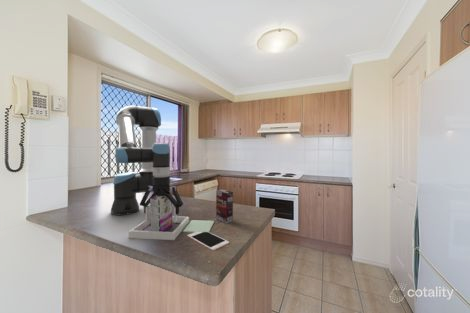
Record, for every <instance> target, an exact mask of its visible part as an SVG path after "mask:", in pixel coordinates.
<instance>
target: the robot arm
mask: <svg viewBox="0 0 470 313" xmlns="http://www.w3.org/2000/svg"><path fill="white" fill-rule="evenodd" d="M115 120H116V122H115V123H116V124H117V125H118V142H119V146H116V147H115V152H114V154H115V162H116V163H117V164H139V163H141V169H140V170H139V171H138V172H139V173H138V174H137V173H136V172H135V171H131V172H130V171H129V172H123V173H119V174H116V175H115V176H114V177H113V201H112V205H111V207H110V214H111V215H113V216H124V215H125V216H126V215H131V214H135V213H137V212H138V211H139V210H140V206H142V207H143V213H144V214H145V220H146V221H148V220H150V198H152V197H155V196H166V197H167V198H168V199H169V200H170V201H171V203H172V206H174V208H173V216H174V222H176V221H177V220H178V217H177V216H178V215H180V208H181V207H182V206H184V202H183V200H182V198H181V196H180V195H179V192H178V188H177V186H176V185H175V186H171V182H170V181H171V178H170V174H171V170H170V167H171V166H170V162H171V161H170V160H171V158H170V157H171V156H170V155H171V154H170V153H171V150H170V144H169V143H164V142H162V143H161V142H160V143H159V142H158V143H157V131H158V130H159V127H161V125H162V117H161V112H160V110H159V109H158V108H155V107H150V106H140V105H128V106H124V107H123V108H121V109H120V110H119V111H118V113H117V114H116V116H115ZM135 125H136V126H138V129H139V130H140V131H141V132H140V133H141V147H137V146H138V145H137V138H136V133H135ZM170 191H171V192H172V194H173V195H171V192H170ZM141 193H144V194H143V196H142V198H141V200H140V203H139V202H138V199H137V194H141ZM150 193H152V194H151V195H150ZM149 195H150V197H149ZM148 197H149V198H148Z"/></svg>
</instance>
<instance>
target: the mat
mask: <svg viewBox="0 0 470 313" xmlns="http://www.w3.org/2000/svg"><path fill="white" fill-rule="evenodd" d="M214 224H215V220H199V219H198V220H197V219H191V220H190V221H189V223H188V224H187V225H186V227H185V228H184V229H183V230H182V232H183V233H189V234H191V233H194V232H210V231H211V229H212V227H213V225H214ZM210 233H211V232H210Z"/></svg>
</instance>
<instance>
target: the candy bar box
mask: <svg viewBox="0 0 470 313" xmlns="http://www.w3.org/2000/svg"><path fill="white" fill-rule="evenodd" d="M170 193H171V192H170ZM172 194H173V192H172V193H171V195H172ZM172 196H173V195H172ZM149 198H150V197H149ZM149 206H150V219H151V224H150V231H160V232H166V231H167V230H168V229H170V228H171V227H172V226H173V223H172V216H173V204H172V203H171V201H170V200H169V199H168V198H167V197H166V196H157V195H156V196H155V197H152V198H150V204H149Z"/></svg>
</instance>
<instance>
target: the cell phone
mask: <svg viewBox="0 0 470 313" xmlns="http://www.w3.org/2000/svg"><path fill="white" fill-rule="evenodd" d="M186 237H187V238H189V239H191V240H192V241H195V242H197V243H198V244H200V245H201V246H203V247H205V248H206V249H209V250H210V251H213V252H214V251H216V250H218V249H221V248H222V247H223V248H224V246H227V245H229V244H230V241H228V240H226V239H224V238H222V237H220V236H218V235H216V234H215V233H212V232H194V233H189V234H187V236H186Z"/></svg>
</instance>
